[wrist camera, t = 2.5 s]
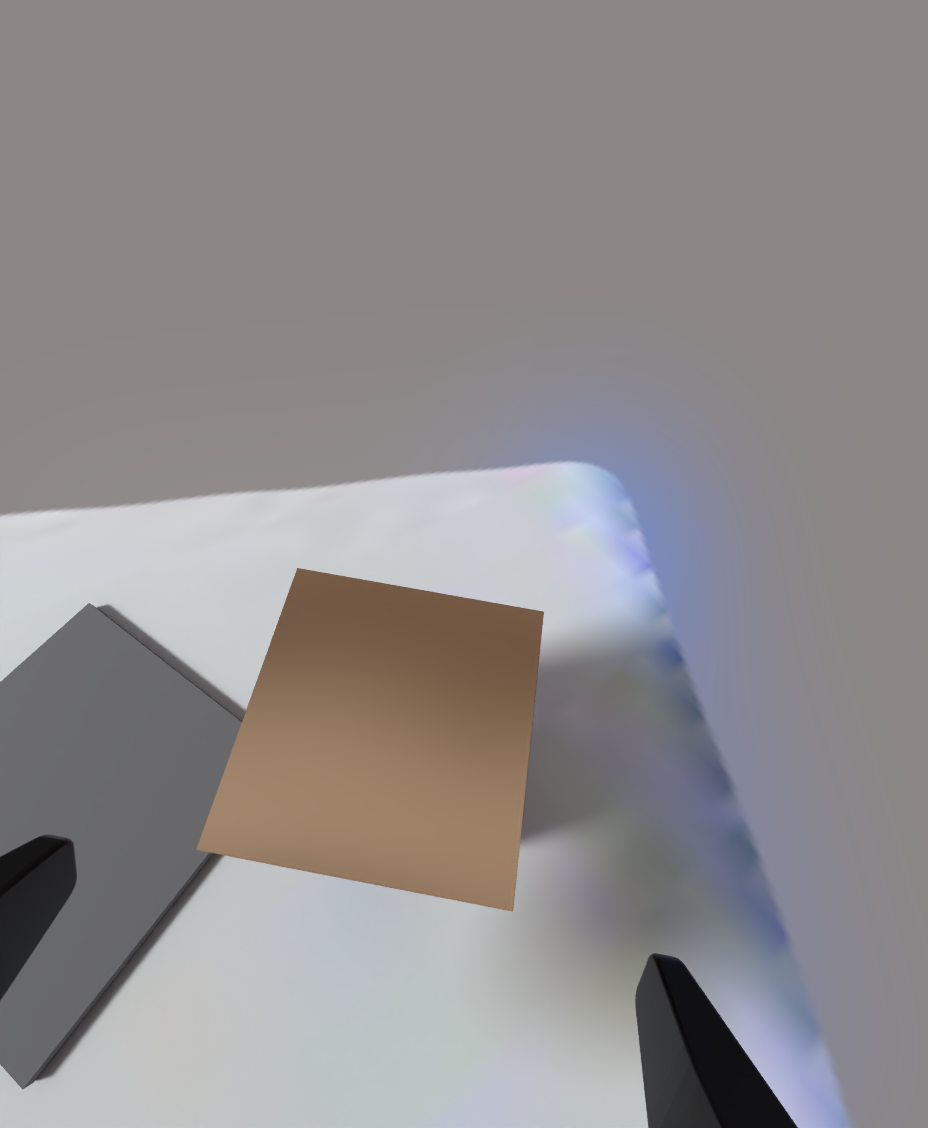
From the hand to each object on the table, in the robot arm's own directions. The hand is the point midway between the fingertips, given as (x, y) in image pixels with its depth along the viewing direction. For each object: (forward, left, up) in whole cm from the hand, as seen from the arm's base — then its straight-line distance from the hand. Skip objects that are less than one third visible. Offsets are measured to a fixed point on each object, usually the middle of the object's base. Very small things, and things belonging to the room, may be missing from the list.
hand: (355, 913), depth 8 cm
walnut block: (+3, +1, -10) cm, 10 cm away
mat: (-4, +10, -10) cm, 15 cm away
